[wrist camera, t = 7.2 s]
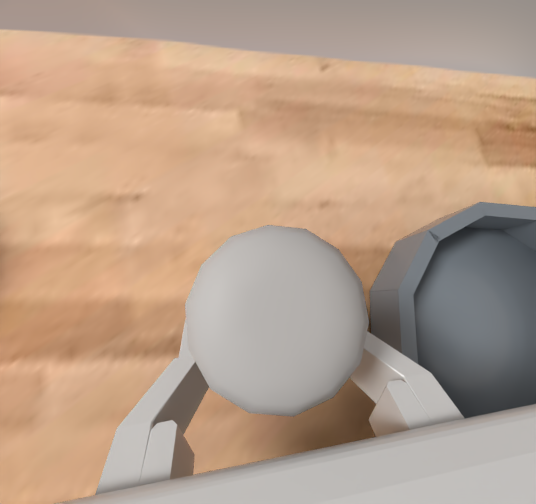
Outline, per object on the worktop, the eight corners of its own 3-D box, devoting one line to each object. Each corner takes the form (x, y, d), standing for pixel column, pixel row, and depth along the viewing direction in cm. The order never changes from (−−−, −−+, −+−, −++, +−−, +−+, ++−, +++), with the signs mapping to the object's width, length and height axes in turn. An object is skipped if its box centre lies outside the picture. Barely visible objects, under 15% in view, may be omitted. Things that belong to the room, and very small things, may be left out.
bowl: (604, 294, 20) (677, 293, 17) (543, 511, 16) (622, 568, 13) (427, 182, 21) (463, 159, 17) (328, 368, 17) (350, 386, 14)
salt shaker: (230, 356, 16) (176, 554, 4) (205, 279, 17) (93, 229, 5) (306, 325, 17) (469, 402, 5) (279, 254, 18) (353, 153, 5)
